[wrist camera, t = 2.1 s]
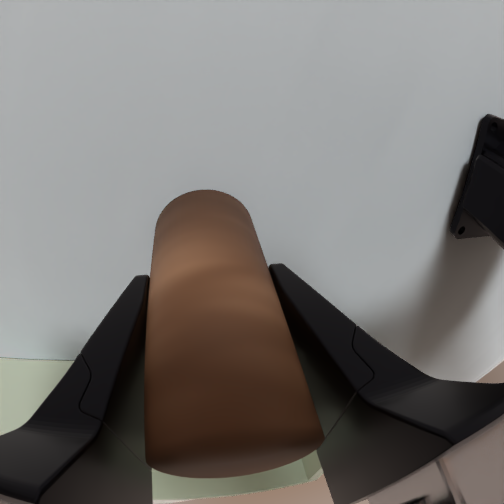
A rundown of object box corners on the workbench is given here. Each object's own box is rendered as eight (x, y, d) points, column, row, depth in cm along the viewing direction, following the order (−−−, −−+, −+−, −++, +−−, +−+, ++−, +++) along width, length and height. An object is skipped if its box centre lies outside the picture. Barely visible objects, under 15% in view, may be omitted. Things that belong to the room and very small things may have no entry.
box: (353, 333, 17) (387, 405, 13) (303, 438, 28) (315, 480, 24) (-24, 355, 13) (-43, 420, 10) (77, 452, 24) (76, 493, 20)
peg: (254, 186, 11) (346, 408, 5) (251, 267, 13) (306, 464, 7) (149, 194, 10) (120, 436, 4) (162, 275, 12) (165, 481, 6)
